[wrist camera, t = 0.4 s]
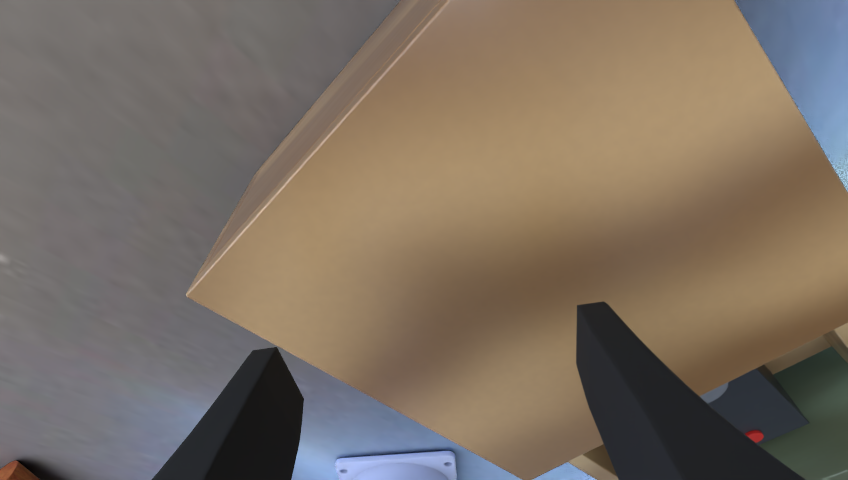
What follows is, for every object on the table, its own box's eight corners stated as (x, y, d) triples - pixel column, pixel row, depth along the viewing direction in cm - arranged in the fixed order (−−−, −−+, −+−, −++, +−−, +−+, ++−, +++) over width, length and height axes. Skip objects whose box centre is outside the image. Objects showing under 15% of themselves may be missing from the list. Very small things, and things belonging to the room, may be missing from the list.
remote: (770, 371, 25) (812, 426, 22) (688, 411, 26) (718, 466, 24) (684, 281, 21) (723, 334, 18) (596, 335, 23) (619, 390, 20)
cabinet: (759, 175, 20) (908, 293, 14) (500, 347, 26) (526, 482, 20) (528, -153, 14) (620, -195, 8) (254, 174, 20) (184, 296, 14)
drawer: (887, 373, 27) (987, 473, 22) (672, 468, 32) (717, 564, 27) (739, 168, 19) (845, 256, 14) (489, 338, 24) (508, 442, 20)
